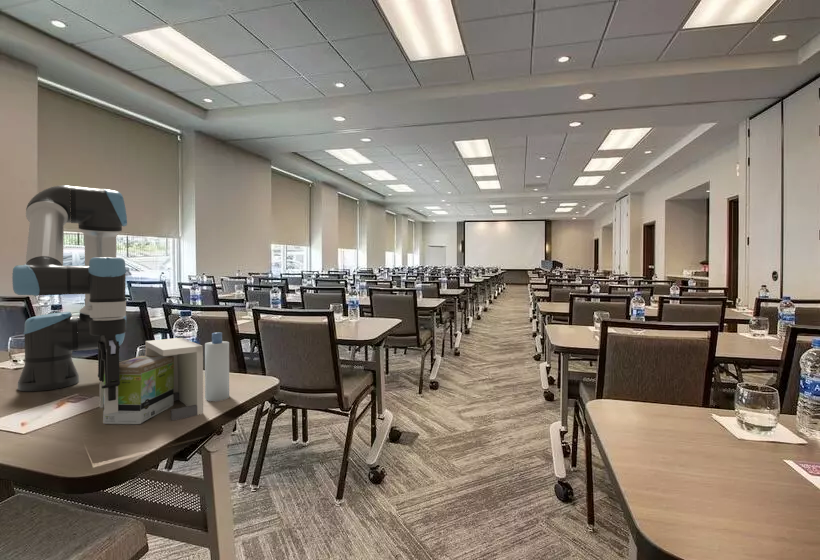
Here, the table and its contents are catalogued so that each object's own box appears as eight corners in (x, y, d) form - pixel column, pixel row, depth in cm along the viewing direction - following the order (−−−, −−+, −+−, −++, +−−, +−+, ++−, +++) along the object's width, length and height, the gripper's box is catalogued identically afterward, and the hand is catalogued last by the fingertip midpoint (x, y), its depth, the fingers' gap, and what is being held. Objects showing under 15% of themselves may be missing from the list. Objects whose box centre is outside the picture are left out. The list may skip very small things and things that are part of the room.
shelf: (146, 405, 122) (145, 341, 122) (182, 398, 129) (181, 337, 129) (163, 422, 109) (163, 350, 108) (203, 413, 115) (202, 345, 115)
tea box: (142, 425, 107) (141, 366, 106) (101, 425, 107) (101, 366, 106) (175, 406, 122) (174, 354, 121) (139, 406, 122) (139, 354, 121)
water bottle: (202, 399, 128) (201, 332, 128) (224, 394, 133) (224, 330, 133) (209, 404, 124) (209, 335, 123) (232, 399, 128) (232, 333, 128)
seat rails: (154, 404, 123) (154, 395, 123) (177, 400, 127) (177, 391, 127) (172, 420, 110) (172, 410, 110) (197, 415, 114) (197, 405, 114)
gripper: (84, 316, 112) (84, 404, 112) (95, 322, 98) (96, 422, 98) (118, 314, 117) (118, 398, 117) (133, 320, 103) (134, 415, 104)
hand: (108, 409), depth 108 cm, fingers open, 6 cm apart
